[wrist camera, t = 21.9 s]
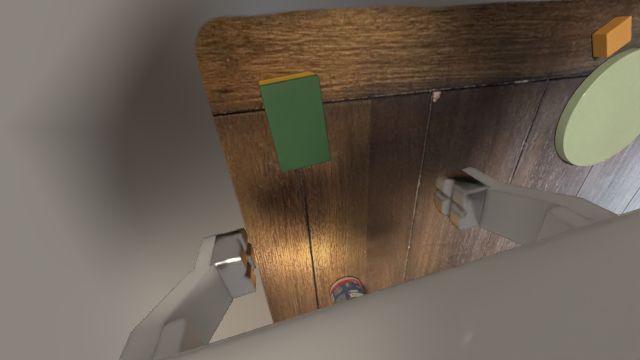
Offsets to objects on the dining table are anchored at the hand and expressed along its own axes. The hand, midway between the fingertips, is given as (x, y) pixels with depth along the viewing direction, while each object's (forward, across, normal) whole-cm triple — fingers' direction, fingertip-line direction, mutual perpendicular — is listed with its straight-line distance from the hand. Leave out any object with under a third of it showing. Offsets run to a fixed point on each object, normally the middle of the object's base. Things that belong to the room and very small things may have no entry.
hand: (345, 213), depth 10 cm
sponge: (+18, 0, +1) cm, 18 cm away
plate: (+18, -44, +9) cm, 48 cm away
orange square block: (+18, -38, -1) cm, 42 cm away
